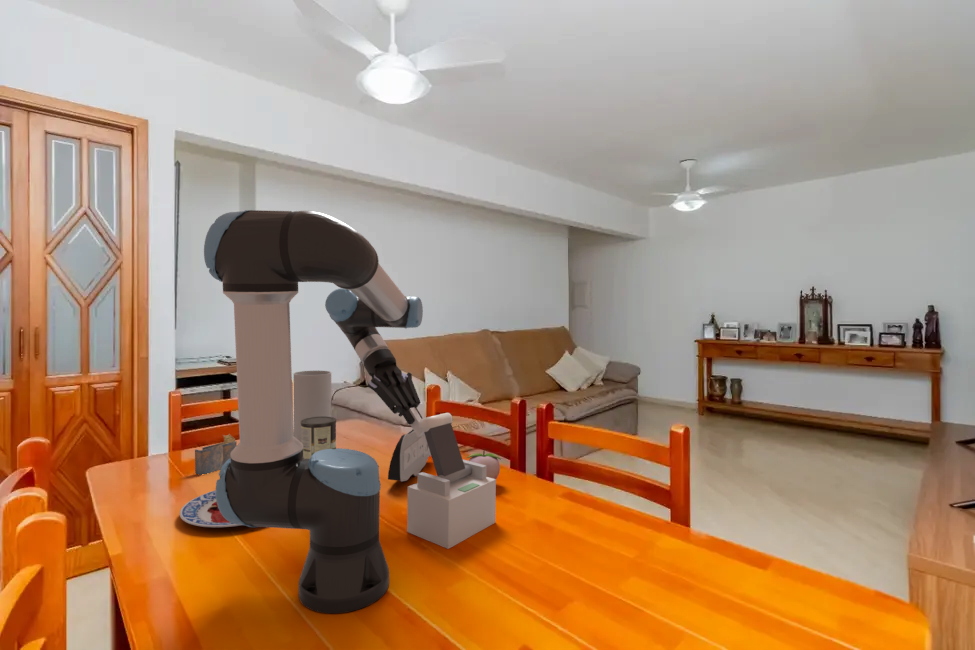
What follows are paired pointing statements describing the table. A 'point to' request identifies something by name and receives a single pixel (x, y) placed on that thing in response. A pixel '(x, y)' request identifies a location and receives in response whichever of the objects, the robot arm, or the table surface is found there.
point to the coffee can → (318, 434)
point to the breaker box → (451, 506)
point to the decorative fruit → (487, 463)
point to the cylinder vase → (311, 397)
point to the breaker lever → (444, 447)
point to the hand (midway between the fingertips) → (422, 433)
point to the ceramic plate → (204, 512)
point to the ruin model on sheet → (214, 456)
